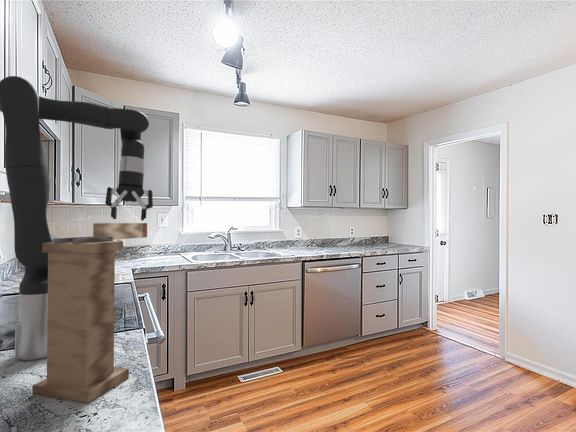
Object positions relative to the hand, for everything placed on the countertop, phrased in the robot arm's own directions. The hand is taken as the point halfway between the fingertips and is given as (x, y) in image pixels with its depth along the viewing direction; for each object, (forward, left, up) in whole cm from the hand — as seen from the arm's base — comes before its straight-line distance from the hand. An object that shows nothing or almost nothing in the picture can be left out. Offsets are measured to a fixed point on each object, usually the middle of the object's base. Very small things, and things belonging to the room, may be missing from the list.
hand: (128, 219), depth 114 cm
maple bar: (+3, -28, -5) cm, 28 cm away
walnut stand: (-3, -38, -37) cm, 53 cm away
